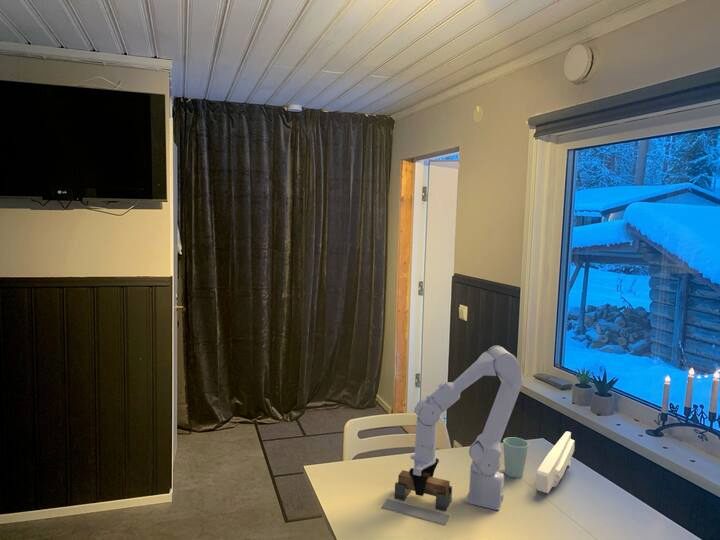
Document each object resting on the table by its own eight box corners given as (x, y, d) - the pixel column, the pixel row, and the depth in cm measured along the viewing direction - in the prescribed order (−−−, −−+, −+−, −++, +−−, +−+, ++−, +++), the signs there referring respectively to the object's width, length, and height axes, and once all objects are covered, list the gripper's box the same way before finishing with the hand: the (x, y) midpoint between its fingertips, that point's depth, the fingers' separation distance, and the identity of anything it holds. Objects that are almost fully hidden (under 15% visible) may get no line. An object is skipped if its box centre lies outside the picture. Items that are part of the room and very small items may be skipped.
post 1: (411, 491, 158) (411, 476, 157) (404, 501, 152) (405, 485, 152) (401, 489, 159) (402, 474, 158) (394, 498, 153) (394, 483, 153)
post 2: (451, 501, 153) (452, 486, 152) (445, 511, 147) (446, 496, 147) (441, 498, 154) (441, 483, 154) (435, 509, 149) (436, 493, 148)
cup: (521, 467, 175) (523, 437, 174) (530, 479, 167) (532, 447, 166) (498, 467, 175) (500, 436, 174) (506, 479, 167) (508, 447, 166)
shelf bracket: (576, 467, 177) (577, 434, 174) (551, 513, 158) (551, 476, 155) (559, 462, 180) (560, 429, 177) (532, 507, 161) (532, 470, 158)
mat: (449, 515, 145) (449, 514, 145) (445, 525, 141) (445, 524, 141) (387, 499, 153) (387, 498, 153) (380, 508, 148) (381, 507, 148)
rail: (449, 493, 152) (449, 481, 151) (445, 498, 148) (446, 486, 148) (402, 481, 157) (402, 470, 157) (397, 486, 154) (398, 475, 154)
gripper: (419, 431, 160) (417, 475, 161) (403, 449, 146) (401, 497, 148) (443, 435, 157) (440, 480, 158) (428, 455, 144) (426, 503, 145)
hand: (423, 489), depth 153 cm, fingers open, 6 cm apart
